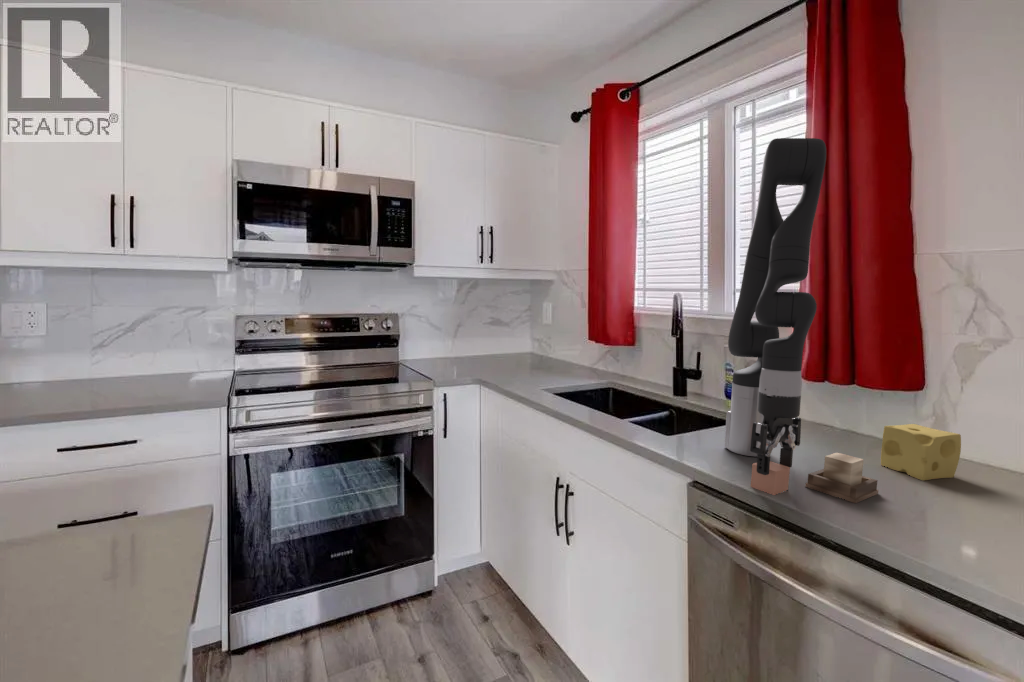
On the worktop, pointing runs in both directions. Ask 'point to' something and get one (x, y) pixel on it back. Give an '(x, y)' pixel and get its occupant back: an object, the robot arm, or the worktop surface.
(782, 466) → the top block
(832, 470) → the base block
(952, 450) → the cheese
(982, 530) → the worktop surface
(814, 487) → the socket board
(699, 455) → the worktop surface
